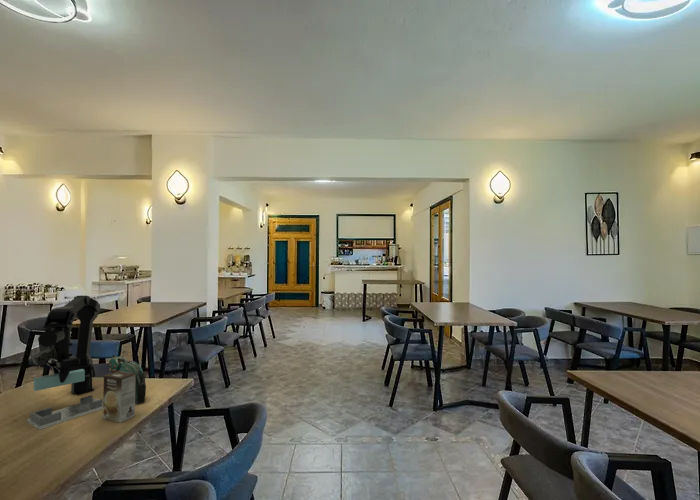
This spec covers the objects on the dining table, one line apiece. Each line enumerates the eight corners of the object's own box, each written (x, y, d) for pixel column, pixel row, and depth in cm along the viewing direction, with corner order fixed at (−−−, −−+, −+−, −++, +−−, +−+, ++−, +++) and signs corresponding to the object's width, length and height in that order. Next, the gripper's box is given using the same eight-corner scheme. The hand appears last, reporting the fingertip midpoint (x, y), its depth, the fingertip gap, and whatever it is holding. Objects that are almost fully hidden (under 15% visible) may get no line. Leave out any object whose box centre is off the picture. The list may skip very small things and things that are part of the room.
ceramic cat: (106, 397, 150) (107, 350, 151) (122, 392, 156) (122, 346, 157) (135, 406, 141) (135, 356, 142) (150, 400, 147) (151, 352, 147)
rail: (82, 378, 144) (82, 368, 144) (84, 380, 142) (84, 370, 142) (33, 388, 133) (33, 377, 133) (34, 391, 130) (35, 380, 131)
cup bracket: (95, 400, 147) (95, 393, 147) (109, 406, 141) (109, 398, 141) (27, 421, 128) (27, 413, 128) (39, 429, 122) (39, 420, 122)
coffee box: (101, 419, 130) (102, 375, 130) (118, 412, 136) (118, 370, 136) (120, 423, 127) (120, 378, 127) (136, 415, 133) (136, 372, 133)
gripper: (25, 342, 136) (24, 383, 135) (44, 348, 126) (42, 392, 125) (60, 336, 145) (59, 375, 145) (80, 342, 135) (79, 383, 135)
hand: (60, 381), depth 137 cm, fingers closed on rail, 4 cm apart
